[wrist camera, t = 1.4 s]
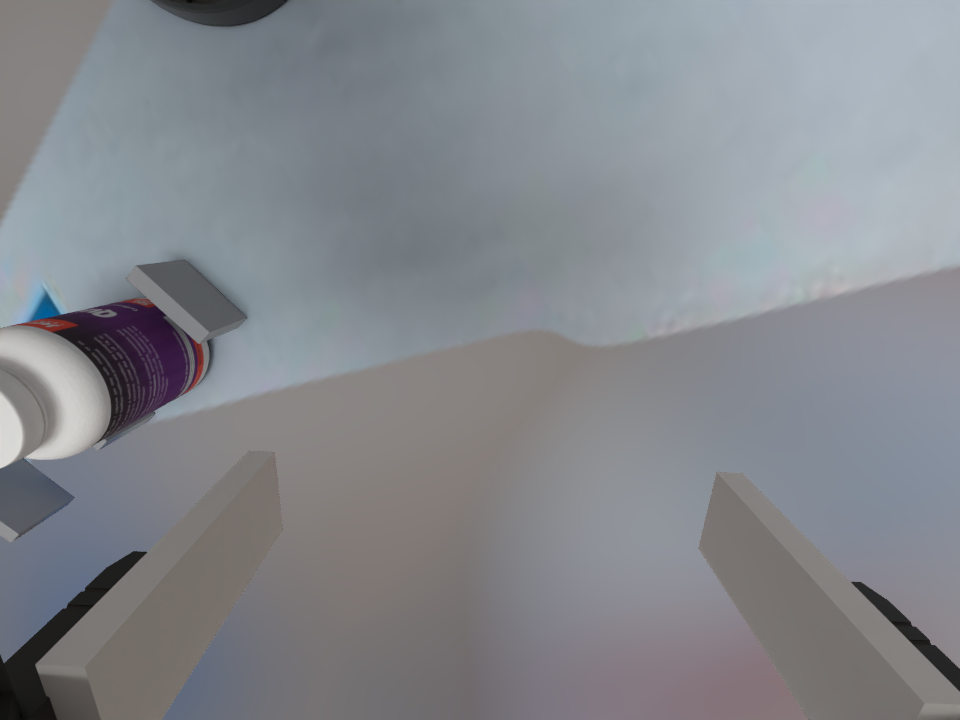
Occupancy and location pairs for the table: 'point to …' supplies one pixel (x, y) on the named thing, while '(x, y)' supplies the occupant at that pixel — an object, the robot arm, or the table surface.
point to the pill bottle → (89, 376)
